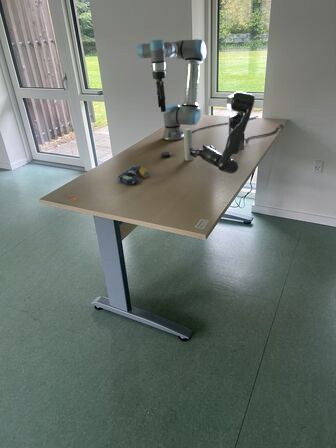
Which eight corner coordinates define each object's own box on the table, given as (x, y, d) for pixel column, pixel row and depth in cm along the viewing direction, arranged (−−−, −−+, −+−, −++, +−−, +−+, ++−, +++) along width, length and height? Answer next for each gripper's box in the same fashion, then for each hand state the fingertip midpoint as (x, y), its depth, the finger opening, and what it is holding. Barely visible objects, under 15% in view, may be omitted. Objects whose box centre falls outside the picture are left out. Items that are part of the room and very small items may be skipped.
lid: (171, 156, 215) (171, 153, 214) (163, 158, 213) (162, 155, 212) (168, 154, 219) (168, 151, 218) (160, 155, 218) (159, 153, 217)
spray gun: (155, 171, 194) (133, 169, 200) (154, 165, 192) (132, 163, 198) (137, 187, 179) (114, 184, 185) (136, 180, 176) (112, 177, 183)
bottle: (183, 160, 208) (182, 129, 198) (187, 157, 211) (186, 127, 201) (190, 161, 205) (189, 130, 196) (194, 158, 209) (193, 128, 199)
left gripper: (150, 69, 200) (153, 105, 211) (154, 74, 179) (158, 114, 190) (162, 67, 201) (165, 104, 212) (168, 72, 180) (171, 113, 191)
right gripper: (222, 146, 182) (207, 139, 195) (199, 152, 178) (185, 144, 190) (222, 159, 186) (207, 151, 199) (200, 165, 182) (186, 156, 194)
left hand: (162, 109), depth 201 cm, fingers open, 13 cm apart
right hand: (196, 147), depth 195 cm, fingers open, 8 cm apart
